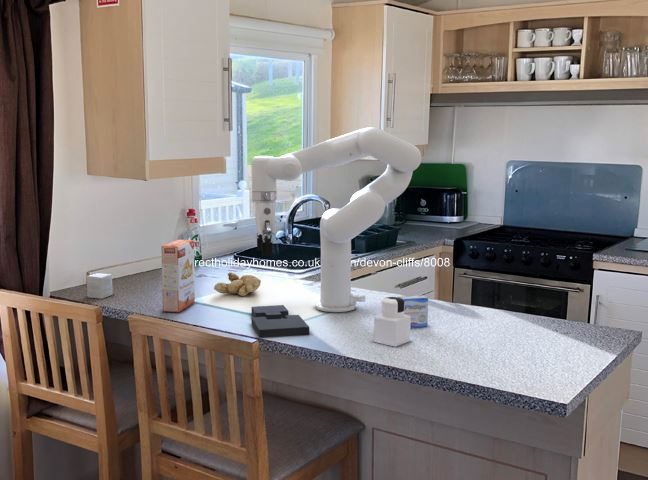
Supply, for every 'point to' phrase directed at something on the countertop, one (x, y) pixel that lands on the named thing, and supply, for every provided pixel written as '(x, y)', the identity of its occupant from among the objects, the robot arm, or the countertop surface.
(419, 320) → the medicine box
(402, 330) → the medicine bottle
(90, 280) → the product box
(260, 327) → the notch pad
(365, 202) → the robot arm
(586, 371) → the countertop surface
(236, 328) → the countertop surface
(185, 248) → the cracker box
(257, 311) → the pad
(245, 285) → the ginger root
